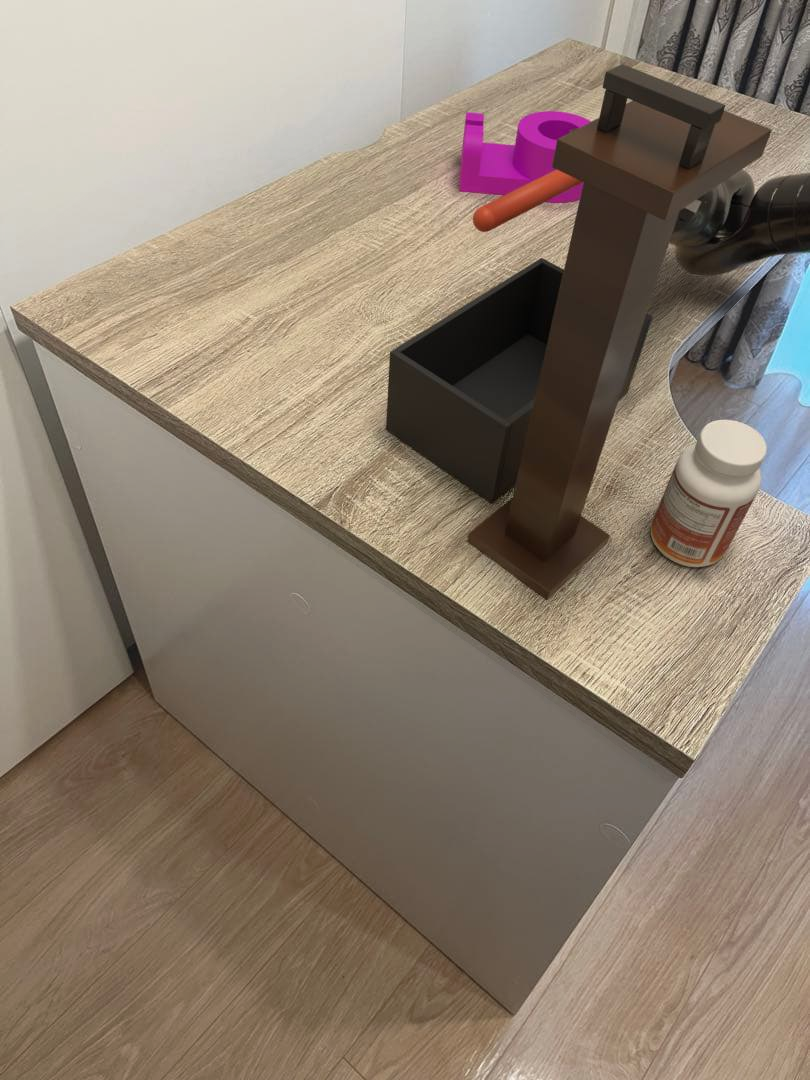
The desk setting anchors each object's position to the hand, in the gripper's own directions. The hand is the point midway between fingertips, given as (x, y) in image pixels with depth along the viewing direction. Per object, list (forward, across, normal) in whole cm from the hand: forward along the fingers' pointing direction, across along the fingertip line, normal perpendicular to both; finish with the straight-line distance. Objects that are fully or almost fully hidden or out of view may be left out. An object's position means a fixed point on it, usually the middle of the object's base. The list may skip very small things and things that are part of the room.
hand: (583, 150), depth 61 cm
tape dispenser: (-40, -26, +5) cm, 48 cm away
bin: (-10, 0, +22) cm, 24 cm away
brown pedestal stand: (-2, +11, +26) cm, 28 cm away
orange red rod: (+1, 0, +3) cm, 4 cm away
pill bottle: (-9, +19, +22) cm, 31 cm away
